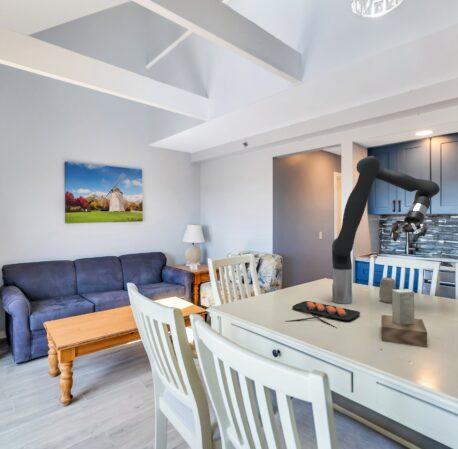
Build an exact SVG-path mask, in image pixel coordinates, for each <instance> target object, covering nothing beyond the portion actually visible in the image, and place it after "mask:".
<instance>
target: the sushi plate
mask: <svg viewBox="0 0 458 449" xmlns="http://www.w3.org/2000/svg"><path fill="white" fill-rule="evenodd" d="M292 309H295V310H298V311H303V312H306V313H307V314H309V315H311V316H312V317H305V318H300V319H299V318H297V319H291V320H285V321H284V323H286V322H287V323H289V322H291V323H292V322H301V321H306V320H312V319H318V320H319V321H320V322H323V323H324V324H326V325H328V326H330V325H331V326H330V327H332V326H333V328H334V327H335V329H338V327H336V326H335V325H333V324H331V323H330V322H328V321H327V320H326V321H325V320H324V319H321V318H326V317H327V318H333V319H337V320H342V321H350V320H353V319H355V318H358V317H359V316H360V315H361V312H360V311H358V310H355V309H350V308H345V307H341V306H335V305H329V304H325V303H321V302H314V301H309V300H303V301H301V302H298V303H295V304H294V305H292ZM314 314H316V315H320V316H316V315H314Z"/></svg>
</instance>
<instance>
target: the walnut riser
mask: <svg viewBox="0 0 458 449" xmlns="http://www.w3.org/2000/svg"><path fill="white" fill-rule="evenodd" d="M380 317H381V320H380V322H381V323H380V324H381V326H380V327H381V341H386V342H392V343H398V344H399V343H400V344H405V345H413V346H420V347H428V331H427V328H426V325H425V323H424V321H423V318H422V319H421V318H415V317H414V320H415V321H414V322H415V324H405V325H398V324H396V323H395V322H394V321H392V315H388V314H387V315H386V314H381V316H380Z"/></svg>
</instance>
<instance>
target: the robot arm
mask: <svg viewBox="0 0 458 449" xmlns="http://www.w3.org/2000/svg"><path fill="white" fill-rule="evenodd" d="M355 168H356V171H357V172H358V179H357V181H356V184H355V185H354V187H353V189H352V191H351V192H350V194H349V196H348V198H347V201H346V204H345V206H344V211H343V217H342V223H341V228H340V231H339V233H338V236H337V237H336V238H335V239H333V241H332V244H331V248H332V249H331V254H332V256H331V259H332V261H331V262H332V286H331V287H332V299H331V300H332V302H333V303H337V304H345V305H346V304H352V303H353V267H352V266H353V263H352V252H353V251H352V250H353V248H354V243H355V239H356V235H357V234H356V233H357V231H358V228H359V226H360V225H361V224H360V223H361V221H362V219H363V216H364V213H365V210H366V207H367V204H368V201H369V198H370V193H371V190H372V188H373V184H374V182H375V179H377V180H379V181H383V182H385V183H388V184H390V185H393V186H395V187H397V188H400V189H401V190H405V192H406V191H407V192H409V193H411V192H415V194H414V201H413V203H412V205H411V206H410V208H409V209H408V211H407V213H406V215H405V217H404V220H403V222H402V223H399V222H398V221H397V222H395V224H394V225H393V227H392V228H391V231H390V232H391V233H392V235H393V236H392V240H393V242H397V241H398V238H399V237H400V236H401V235H402V234H405V233H411V234H412V233H414V234H413V236H412V239H411V241H412V243H413V244H416V243H417V242H418V241H419V238H421V237H425V236H426V234H427V231H428V228H429V226H428V224H427V222H424V220H425V219H426V216H427V214H428V210H430V206H431V199H432V198H433V197H435V196H437V194H438V193H439V192H440V190H441V188H440V186H439V184H438V183H436V182H435V181H433V180H429V179H422V178H416V177H413V176H411V175H408V174H406V173H403V172H399V171H396V170H392V169H389V168H385V167H383V166H381V163H380V160H379V159H378V158H377V156H373V155H370V156H366V157H364V158H362V159H360V160H359V161H358V162H357V164H356V167H355ZM419 230H420V231H419Z"/></svg>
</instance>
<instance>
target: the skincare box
mask: <svg viewBox="0 0 458 449" xmlns="http://www.w3.org/2000/svg"><path fill="white" fill-rule="evenodd" d="M391 304H392V305H391V306H392V307H391V310H392V313H391V314H392V315H391V316H392V321H394V322H395V323H396V324H398V325H405V324H415V322H414V321H415V320H414V318H415V291H413V290H411V289H408V288H401V289H400V288H399V289H398V288H397V289H396V290H392V303H391Z"/></svg>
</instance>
